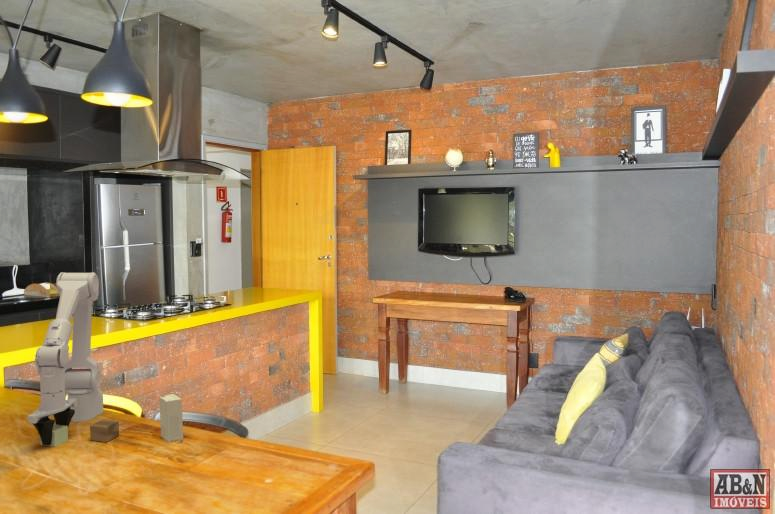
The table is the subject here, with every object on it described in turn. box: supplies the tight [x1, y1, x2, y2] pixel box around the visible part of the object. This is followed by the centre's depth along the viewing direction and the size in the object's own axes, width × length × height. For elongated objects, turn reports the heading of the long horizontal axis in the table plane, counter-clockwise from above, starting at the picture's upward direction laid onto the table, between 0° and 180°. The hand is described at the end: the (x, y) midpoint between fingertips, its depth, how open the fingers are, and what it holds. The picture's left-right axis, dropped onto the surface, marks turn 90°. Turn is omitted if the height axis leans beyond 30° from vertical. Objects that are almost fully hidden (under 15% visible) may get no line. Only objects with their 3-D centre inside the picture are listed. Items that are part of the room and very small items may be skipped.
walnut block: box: [89, 419, 120, 443], centre depth 164 cm, size 5×5×4 cm
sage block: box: [39, 423, 69, 448], centre depth 161 cm, size 4×4×5 cm
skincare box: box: [158, 393, 184, 445], centre depth 165 cm, size 6×4×12 cm
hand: (54, 440), depth 161 cm, fingers closed on sage block, 4 cm apart
